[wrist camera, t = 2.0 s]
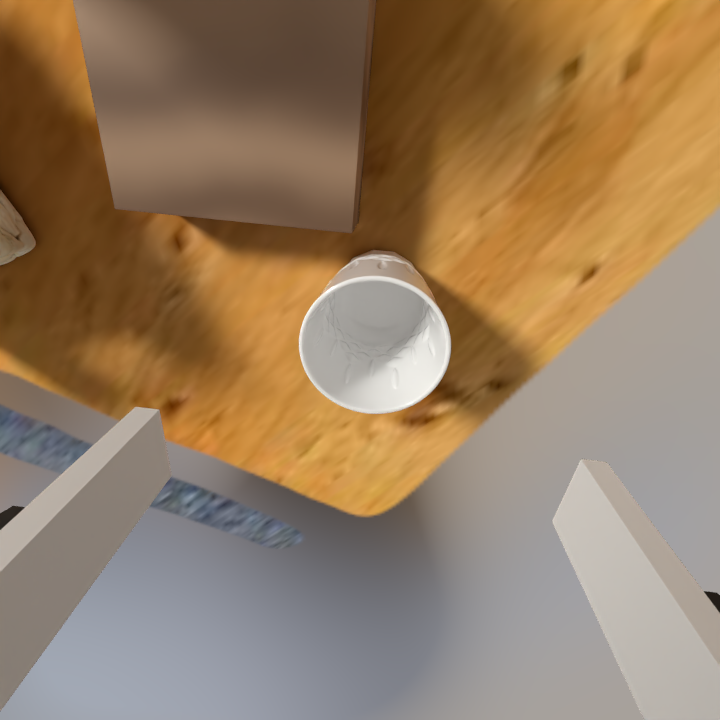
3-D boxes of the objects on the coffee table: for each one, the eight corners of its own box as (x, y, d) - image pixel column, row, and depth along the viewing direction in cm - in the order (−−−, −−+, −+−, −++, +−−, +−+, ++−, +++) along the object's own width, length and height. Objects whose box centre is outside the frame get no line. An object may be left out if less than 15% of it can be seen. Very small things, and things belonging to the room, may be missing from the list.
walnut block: (120, -81, 20) (42, -154, 15) (381, -59, 19) (378, -127, 15) (161, 202, 26) (114, 209, 22) (358, 222, 26) (351, 233, 21)
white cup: (450, 309, 28) (478, 372, 19) (365, 358, 31) (355, 435, 22) (395, 218, 26) (398, 242, 17) (306, 280, 28) (267, 330, 19)
